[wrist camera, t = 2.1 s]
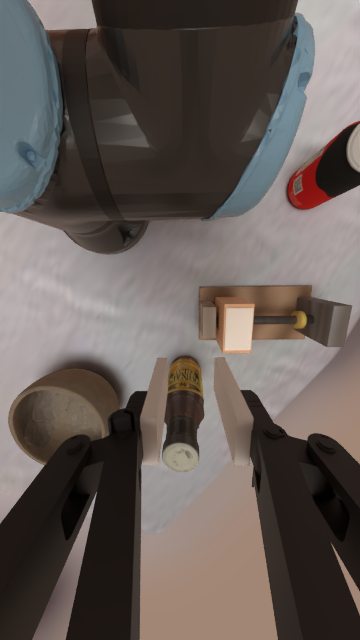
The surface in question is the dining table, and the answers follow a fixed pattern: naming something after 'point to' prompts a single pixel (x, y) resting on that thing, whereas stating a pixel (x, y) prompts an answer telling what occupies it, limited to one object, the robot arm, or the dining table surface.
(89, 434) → the bowl
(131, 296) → the dining table surface
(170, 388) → the sauce bottle
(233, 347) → the sleeve
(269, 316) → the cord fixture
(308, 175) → the beverage can
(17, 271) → the dining table surface
